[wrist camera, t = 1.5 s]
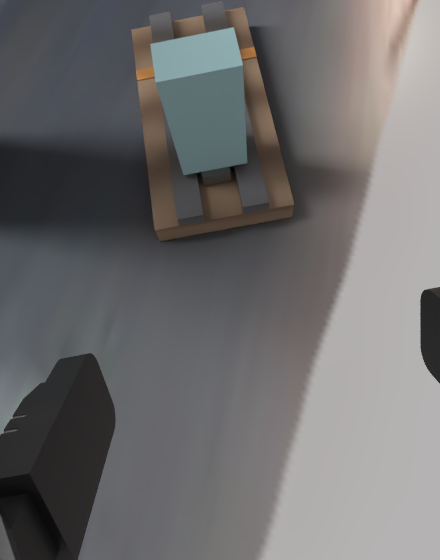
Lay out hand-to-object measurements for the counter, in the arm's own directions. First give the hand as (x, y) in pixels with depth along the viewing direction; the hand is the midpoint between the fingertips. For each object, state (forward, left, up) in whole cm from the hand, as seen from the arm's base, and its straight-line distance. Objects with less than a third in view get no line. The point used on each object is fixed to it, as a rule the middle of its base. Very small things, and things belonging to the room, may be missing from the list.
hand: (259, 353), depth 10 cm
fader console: (-19, +16, -20) cm, 31 cm away
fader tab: (-14, +12, -17) cm, 26 cm away
